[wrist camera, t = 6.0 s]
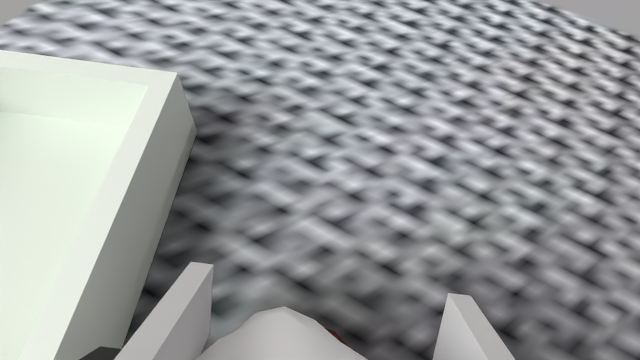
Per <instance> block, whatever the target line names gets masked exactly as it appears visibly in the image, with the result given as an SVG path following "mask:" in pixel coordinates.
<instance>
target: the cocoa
mask: <svg viewBox="0 0 640 360" xmlns="http://www.w3.org/2000/svg"><path fill="white" fill-rule="evenodd" d="M195 360H368V359H366V358H364V357H363V356H361V355H360V354H358V353H357V352H355V351H354V350H352V349H350V348H349V347H348V346H347V345H346V344H345V343H344V342H343V341H342V339H341V338H340V337H339V336H338V335H337V334H336V333H335V332H334V331H331V330H329V329H326V328H324V327H322V326H321V325H320V324H319V323H318V322H317V321H316V320H314V319H312V318H309V317H307V316H305V315H303V314H301V313H298V312H296V311H294V310H292V309H289V308H287V307H285V306H284V307H279V308H275V309H270V310H266V311H261V312H257V313H255V314H254V315H253V316H251V317H250V318H249V319H248V320H247V321H246V322H244V323H243V324H242V325H241V326H240V327H239V328H237V329H236V330H235V331H234V332H232V333H230V334H228V335H226V336H224V337H222V338H220V339H218V340H217V341H216V342H215V343H213V344H212V345H211V346H210V347H209V348H208V349H207V350H206V351H204V352H203V353H202V354H201V355H200V356H199V357H198V358H197V359H195Z"/></svg>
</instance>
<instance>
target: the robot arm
mask: <svg viewBox="0 0 640 360" xmlns="http://www.w3.org/2000/svg"><path fill="white" fill-rule="evenodd" d="M213 266H214V265H213V264H205V263H196V262H190V264H189V265H188V266H187V267H186V269H185V270H184V271H183V272H182V274H181V275H180V276H179V278H178V279H177V280H176V281H175V283H174V284H173V285H172V286H171V288H170V289H169V290H168V291H167V293H166V294H165V295H164V297H163V298H162V299H161V300H160V302H159V303H158V304H157V305H156V307H155V308H154V309H153V311H152V312H151V313H150V314H149V316H148V317H147V318H146V319H145V321H144V322H143V323H142V325H141V326H140V327H139V328H138V330H137V331H136V332H135V333H134V335H133V336H132V337H131V339H130V340H129V341H128V342H127V344H126V345H125V346H124V347H123V349H119V348H110V347H102V346H100V347H98V348H97V349H95V350H93V351H92V352H90V353H89V354H87V355H86V356H84V357H82V358H81V359H79V360H195V359H197V358H198V357H199V356H200V354H201V352H202V350H203V348H204V346H205V344H206V341H207V339H208V337H209V335H210V318H211V301H212V283H213ZM433 360H515V359H514V357H513V356H512V354H511V353H510V351H509V350H508V349H507V347H506V346H505V344H504V343H503V341H502V340H501V339H500V337H499V336H498V334H497V333H496V331H495V330H494V329H493V327H492V326H491V324H490V323H489V321H488V320H487V318H486V317H485V316H484V314H483V313H482V311H481V310H480V308H479V307H478V306H477V304H476V303H475V301H474V300H473V298H472V297H471V296H469V295H461V294H453V293H448V296H447V300H446V304H445V309H444V313H443V317H442V322H441V326H440V330H439V334H438V339H437V343H436V347H435V351H434V356H433Z"/></svg>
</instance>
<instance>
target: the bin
mask: <svg viewBox="0 0 640 360" xmlns="http://www.w3.org/2000/svg"><path fill="white" fill-rule="evenodd" d="M196 134H197V129H196V126H195V123H194V120H193V117H192V114H191V111H190V109H189V106H188V103H187V100H186V97H185V94H184V91H183V88H182V85H181V82H180V79H179V76H178V73H175V72H167V71H159V70H151V69H144V68H136V67H128V66H120V65H113V64H105V63H97V62H89V61H82V60H74V59H66V58H59V57H51V56H43V55H35V54H28V53H20V52H12V51H4V50H0V360H79V359H81V358H82V357H84V356H86V355H87V354H89V353H90V352H92V351H93V350H95V349H97V348H98V347H100V346H102V347H110V348H119V349H122V346H123V344H124V341H125V338H126V335H127V332H128V329H129V326H130V323H131V321H132V318H133V315H134V312H135V309H136V306H137V303H138V301H139V298H140V295H141V292H142V289H143V286H144V283H145V281H146V278H147V275H148V272H149V269H150V266H151V263H152V260H153V258H154V255H155V252H156V249H157V246H158V243H159V240H160V238H161V235H162V232H163V229H164V226H165V223H166V220H167V218H168V215H169V212H170V209H171V206H172V203H173V200H174V197H175V195H176V192H177V189H178V186H179V183H180V180H181V177H182V175H183V172H184V169H185V166H186V163H187V160H188V157H189V155H190V152H191V149H192V146H193V143H194V140H195V137H196Z"/></svg>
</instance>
